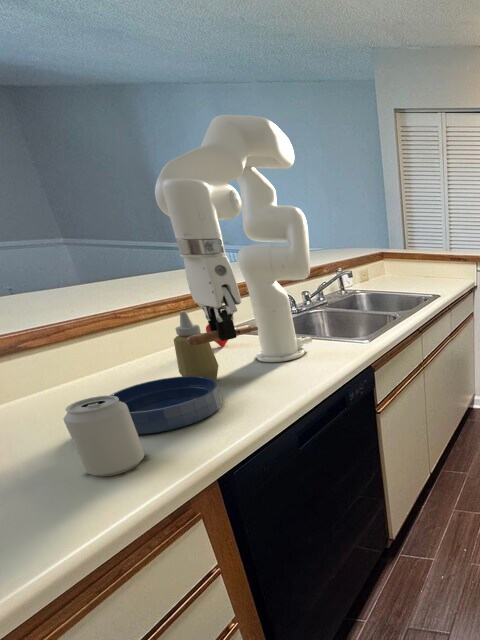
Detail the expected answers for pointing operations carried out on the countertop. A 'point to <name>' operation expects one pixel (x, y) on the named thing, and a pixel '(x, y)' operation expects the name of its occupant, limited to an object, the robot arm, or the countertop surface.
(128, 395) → the bowl
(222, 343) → the strawberry
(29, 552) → the countertop surface
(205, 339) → the stirring stick
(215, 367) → the squeeze bottle
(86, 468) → the can
